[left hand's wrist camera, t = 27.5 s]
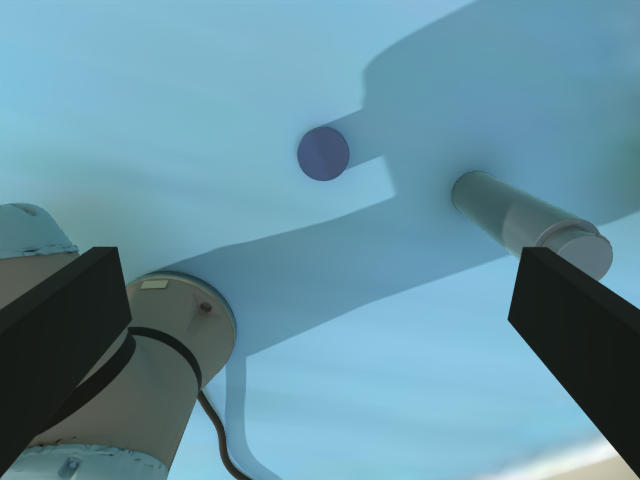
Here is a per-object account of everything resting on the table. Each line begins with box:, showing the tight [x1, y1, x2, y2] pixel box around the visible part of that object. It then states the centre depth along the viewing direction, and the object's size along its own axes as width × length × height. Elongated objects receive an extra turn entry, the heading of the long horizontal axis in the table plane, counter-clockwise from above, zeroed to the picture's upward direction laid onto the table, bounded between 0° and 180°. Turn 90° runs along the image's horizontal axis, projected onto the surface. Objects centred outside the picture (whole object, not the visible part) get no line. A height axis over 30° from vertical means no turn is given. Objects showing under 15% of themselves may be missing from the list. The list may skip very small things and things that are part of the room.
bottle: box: [452, 171, 613, 281], centre depth 32 cm, size 5×5×18 cm
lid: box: [297, 127, 349, 181], centre depth 38 cm, size 5×5×2 cm
